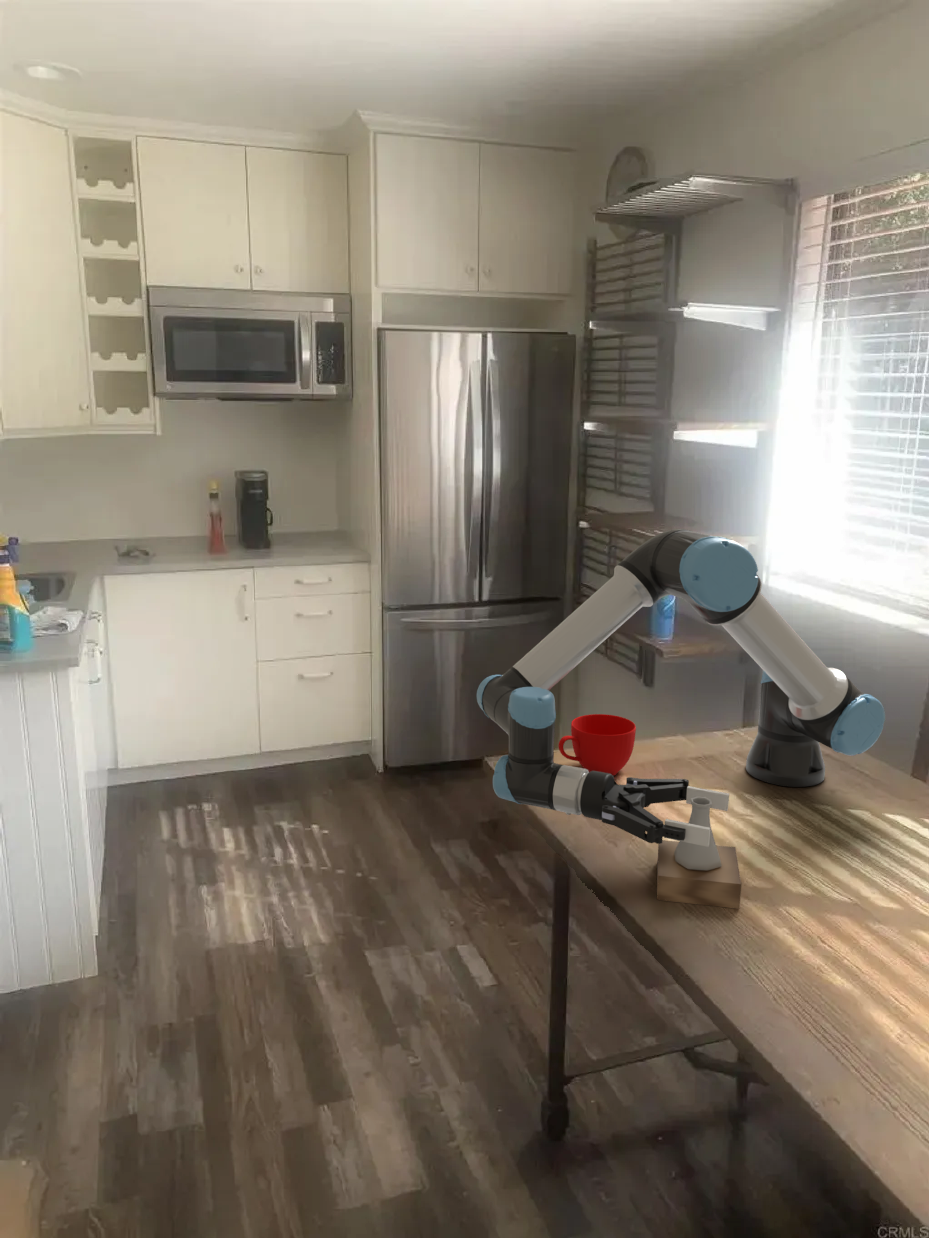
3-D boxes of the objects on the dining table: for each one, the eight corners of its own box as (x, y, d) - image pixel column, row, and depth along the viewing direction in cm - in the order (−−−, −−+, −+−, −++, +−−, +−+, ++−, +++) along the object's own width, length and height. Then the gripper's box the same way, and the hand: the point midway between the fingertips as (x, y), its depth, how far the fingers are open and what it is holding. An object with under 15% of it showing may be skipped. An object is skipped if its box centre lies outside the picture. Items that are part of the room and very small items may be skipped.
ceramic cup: (541, 768, 189) (542, 722, 186) (608, 755, 196) (610, 710, 194) (576, 791, 178) (578, 742, 175) (646, 776, 185) (649, 729, 183)
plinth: (733, 869, 148) (735, 847, 147) (739, 908, 136) (741, 884, 135) (657, 862, 150) (658, 839, 149) (656, 899, 138) (658, 875, 138)
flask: (709, 848, 146) (713, 789, 144) (729, 870, 139) (734, 809, 137) (666, 851, 145) (669, 792, 143) (684, 874, 138) (688, 812, 136)
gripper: (609, 786, 160) (733, 810, 151) (557, 846, 138) (698, 878, 129) (611, 746, 158) (736, 767, 149) (558, 799, 137) (701, 828, 127)
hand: (719, 819), depth 139 cm, fingers open, 13 cm apart
